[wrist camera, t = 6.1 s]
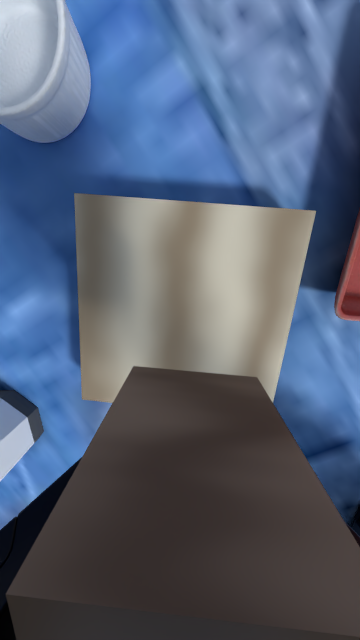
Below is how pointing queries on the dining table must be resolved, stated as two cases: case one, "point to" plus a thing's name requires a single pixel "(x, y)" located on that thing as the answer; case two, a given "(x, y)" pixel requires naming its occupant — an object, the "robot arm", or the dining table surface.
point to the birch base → (185, 287)
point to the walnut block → (190, 526)
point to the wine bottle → (16, 428)
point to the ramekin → (41, 70)
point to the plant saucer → (350, 280)
